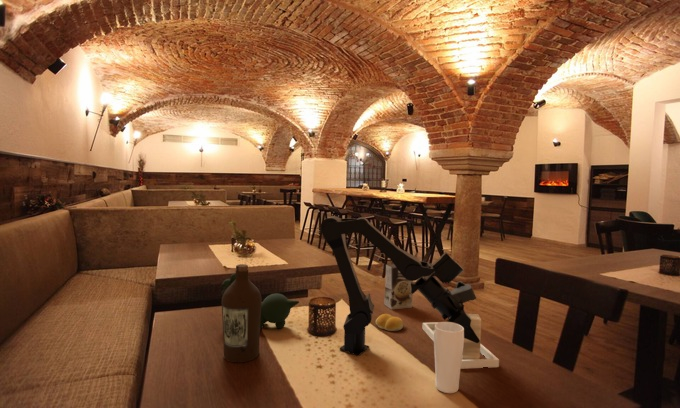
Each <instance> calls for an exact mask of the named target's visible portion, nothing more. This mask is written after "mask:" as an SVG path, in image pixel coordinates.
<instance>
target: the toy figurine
mask: <svg viewBox="0 0 680 408" xmlns="http://www.w3.org/2000/svg"><path fill="white" fill-rule="evenodd" d="M235 279H236V272H234V273H232V274H231V275H230V277H229V278H226V279H225V280H223V282H222V283H221V284H220V286H221V287H222V288H223V290H222V291H221V295H222V296H223V294H224V292H225V290H226V289H227V288H228V287H229V286H230V285H231V284H232V283H233V282H234V281H235ZM299 303H300V302H299V300H294V299H293V300H292V299H288V297H286V296H285V295H284V294H282V293H278V292H277V293H271V294H269V295H267V296H266V297H265V298H264V299H263V301H262V304H261V319H260V330H261V329H262V328H264V326H265V324H266V323H267V322H268V323H270V324H274V325H275V327H276V328H277V329H283V328H284V326H286V319H288V317H289V315H290V313H291V310H292V309H293V307H296V306H297V305H298V304H299Z"/></svg>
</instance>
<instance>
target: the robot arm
mask: <svg viewBox="0 0 680 408" xmlns="http://www.w3.org/2000/svg"><path fill="white" fill-rule="evenodd" d="M319 228H320V230H319V231H320V234H321V235H322V237H323V239H324V240H325V242H326V244H327V245H328V247H330V249H331V250H332V253H333V256H334V258H335V262H336V265H337V268H338V270H339V273H340V275H341V279H342V282H343V284H344V287H345V290H346V293H347V296H348V305H349V313H348V314H347V315H346V317H345V320H344V324H343V327H342V328H343V331H344V337H343V338H344V339H343V345H342V346H340V347H339V350H340V351H341V352H346V353H349V354H352V355H355V356H359V355H361V354H362V353H364V352H366V351H367V350H368V349H370V345H367V344H366V327H368V326H369V325H370V324H371V322H372V318H373V314H374V311H375V310H374V309H375V304H374V303H373V301H372V297H371V293H368V294H365V293H364V291H363V290H362V287H361V285H360V281H359V278H358V276H357V273H356V270H355V267H354V264H353V262H352V258H351V256H350V252H349V250H348V247H347V243H346V242H347V241H346V235H347V234H354V233H356V234H357V233H359V234H361V235H362V236H363V237H364V238H365V240H368V241H369V242H370V243H371V244H372V245H373V246H374V247H376V249H378V250H379V251H380V252H381V253H382V254H384V255H385V256H386V257H387V258H388V259H389V260H390V261H391V262H392V264H394V265H395V266H396V268H397V269H398V270H399V272H400V273H401V274H402V275H403V276H404V278H405V279H407V280H409V281H413V282H410V285H411V293H412V295H414V294H415V293H416V292H417V291H418V292H419V293H420V294H421V295H422V296H423V297H424V298H425V299H426V300H427V302H429V303H430V304H431V307H432V308H433V309H436V311H437V312H438V313H439V314H440V315H441V318H442V319H443V320H444V321H445V320H446V322H452V323H456V324H459V325H461V326H462V327H463V328H464V338H466V339H468V340H470V341H473V342H475V343H478V342H480V340H479V338H478V337H477V335H476V334H475V332H474V331H473V329H472V327H471V326H470V324H471V318H470V316H468V314H469V313H468V312H466V311H465V305H464V303H467V302H470V301H475V300H476V299H477V296H476V294H475V292H474V289H473V287H472V285H471V284H470V283H464V282H463V281H462V280H460V281H457V282H456V283H455V285H456V286H455V287H454V288H453V289H451V290H450V289H449V288H447V287H444V285H442V284H444V283H445V284H450V283H451V282H452V281H454V280H455V279H456V278H457V277H458V276H459V275H461V274H462V273H463V272H464V271H465V270H464V268H463V267H462V266H461V265H460V264H459V263H458V261H456V259H455V258H453V257H452V256H450V254H449V253H447V252H446V251H445V252H444V253H443V254H441V256H440V257H439V258H438V259H437V260H435V262H433V263H432V262H427V261H421V260H420V259H419V258H417V256H415V255H413V254H411V253H410V252H408V251H405V250H404V249H402V248H400V247H399V246H397V245H396V244H395V243H394V242H393V241H392V240H391V239H390V238H389V237H387V236H386V235H385V234H383V232H381V231H380V230H379V229H378V228H376V227H375V226H374V225H373V224H372V223H371V222H370V221H369V220H368V219H367V218H366V217H357V218H354V217H353V218H351V217H349V218H347V217H346V218H341V217H338V216H337V215H332V216H329V217H327V218H324V220H323V221H322V222H321V224H320V227H319ZM436 278H437V279H438V280H439V281H438V280H437V279H436ZM440 282H441V283H442V284H441V283H440ZM480 343H481V342H480Z"/></svg>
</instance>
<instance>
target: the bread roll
mask: <svg viewBox="0 0 680 408" xmlns="http://www.w3.org/2000/svg"><path fill="white" fill-rule="evenodd" d="M375 325H376V326H377V327H378V328H379V329H382V330H385V331H388V332H397V331H400V330H402V329H403V328H404V321H403V320H402V319H401V318H400V317H399V316H393V315H392V314H389V313H383V314H380V315H379V316H378V317H377V318H376V319H375Z"/></svg>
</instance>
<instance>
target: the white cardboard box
mask: <svg viewBox="0 0 680 408" xmlns="http://www.w3.org/2000/svg"><path fill="white" fill-rule="evenodd" d="M410 282H414V281H409V280H407V279H405V278H404V276H403V275H402V274H401V273H400V272H399V270H398V269H397V268H396V266H395V265H394V263H391V264H390V263H389V264H385V284H384V301H383V302H384V306H386V307H387V308H389V309H390V310H399V309H411V308H413V294H412V293H411V285H410Z"/></svg>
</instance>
